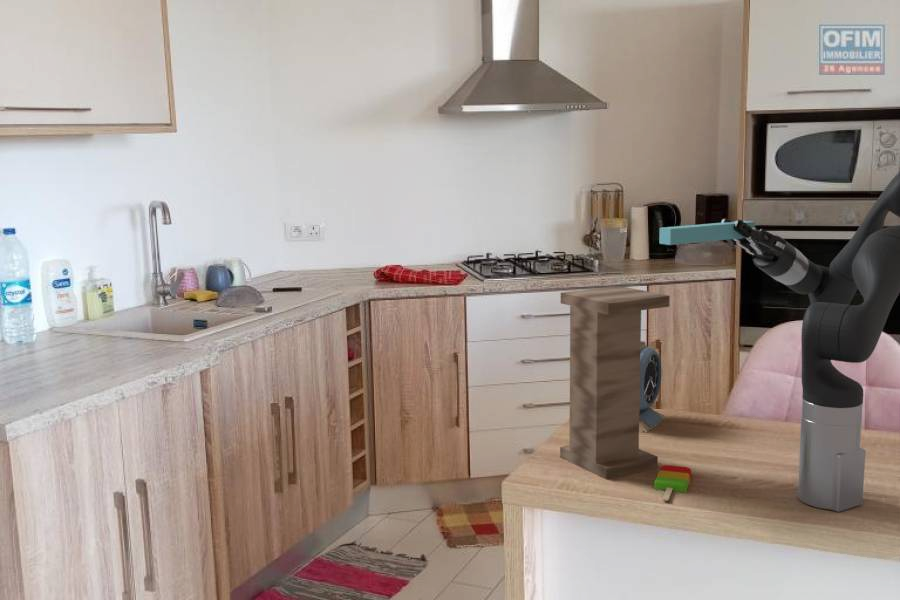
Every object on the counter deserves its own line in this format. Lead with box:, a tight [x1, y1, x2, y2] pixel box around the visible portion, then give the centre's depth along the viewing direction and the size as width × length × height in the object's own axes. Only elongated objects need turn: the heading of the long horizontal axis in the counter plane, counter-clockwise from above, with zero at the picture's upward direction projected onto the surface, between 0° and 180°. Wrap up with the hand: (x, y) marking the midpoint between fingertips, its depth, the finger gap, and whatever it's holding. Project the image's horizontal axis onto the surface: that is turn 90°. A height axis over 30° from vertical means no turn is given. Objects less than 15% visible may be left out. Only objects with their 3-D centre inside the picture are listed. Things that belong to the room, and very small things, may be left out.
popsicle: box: [653, 464, 692, 502], centre depth 163 cm, size 6×15×2 cm, turn 159°
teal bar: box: [658, 220, 756, 246], centre depth 181 cm, size 3×22×3 cm, turn 119°
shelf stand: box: [559, 285, 670, 480], centre depth 174 cm, size 14×14×32 cm
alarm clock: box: [639, 340, 667, 433], centre depth 199 cm, size 14×10×18 cm
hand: (729, 223), depth 183 cm, fingers closed on teal bar, 3 cm apart
